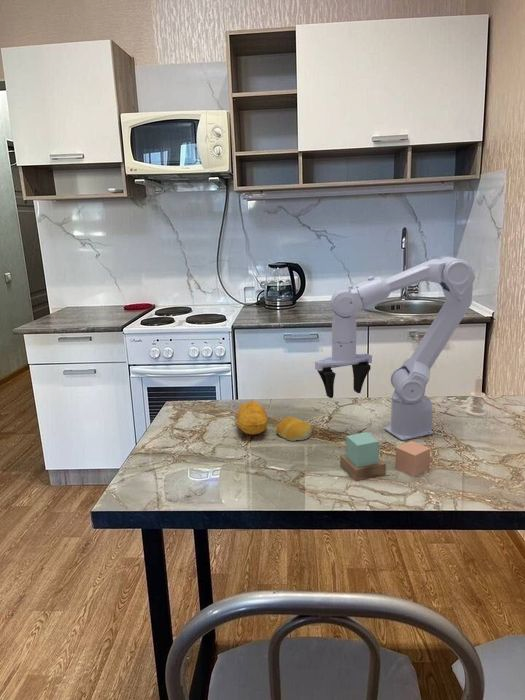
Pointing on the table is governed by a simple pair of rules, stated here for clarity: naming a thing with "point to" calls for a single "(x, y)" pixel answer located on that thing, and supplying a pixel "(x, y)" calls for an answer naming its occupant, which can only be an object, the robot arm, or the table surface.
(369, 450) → the teal cube
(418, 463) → the terracotta cube
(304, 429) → the bread roll
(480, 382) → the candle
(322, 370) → the robot arm
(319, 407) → the table surface
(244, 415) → the orange oval lump
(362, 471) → the walnut block
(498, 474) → the table surface
